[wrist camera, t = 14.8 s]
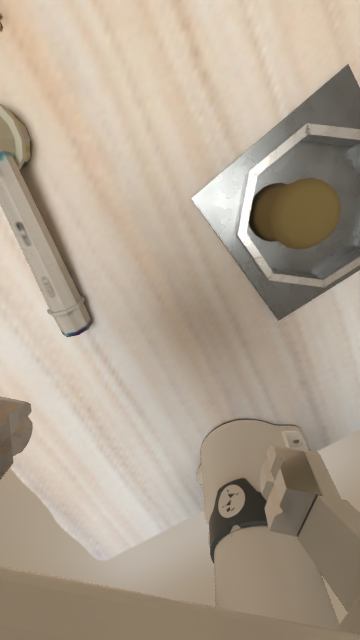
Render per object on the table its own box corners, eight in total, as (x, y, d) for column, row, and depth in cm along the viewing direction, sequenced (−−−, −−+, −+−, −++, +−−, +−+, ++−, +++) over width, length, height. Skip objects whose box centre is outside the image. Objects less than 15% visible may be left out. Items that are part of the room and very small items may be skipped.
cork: (315, 195, 29) (373, 188, 19) (287, 249, 32) (325, 269, 22) (263, 173, 29) (293, 154, 19) (238, 230, 31) (253, 240, 21)
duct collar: (423, 227, 30) (446, 229, 27) (277, 318, 36) (283, 328, 33) (345, 67, 26) (362, 49, 23) (191, 198, 31) (190, 197, 28)
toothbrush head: (52, 341, 35) (-84, 99, 23) (72, 315, 41) (-29, 112, 29) (90, 333, 34) (-31, 79, 23) (105, 308, 40) (15, 96, 28)
